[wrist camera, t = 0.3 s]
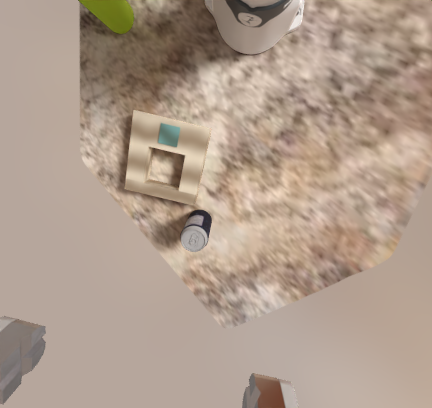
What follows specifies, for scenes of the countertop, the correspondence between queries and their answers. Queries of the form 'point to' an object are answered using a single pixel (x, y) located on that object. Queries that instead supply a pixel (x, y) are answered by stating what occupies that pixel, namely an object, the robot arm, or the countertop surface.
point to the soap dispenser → (112, 13)
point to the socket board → (169, 141)
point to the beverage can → (196, 231)
